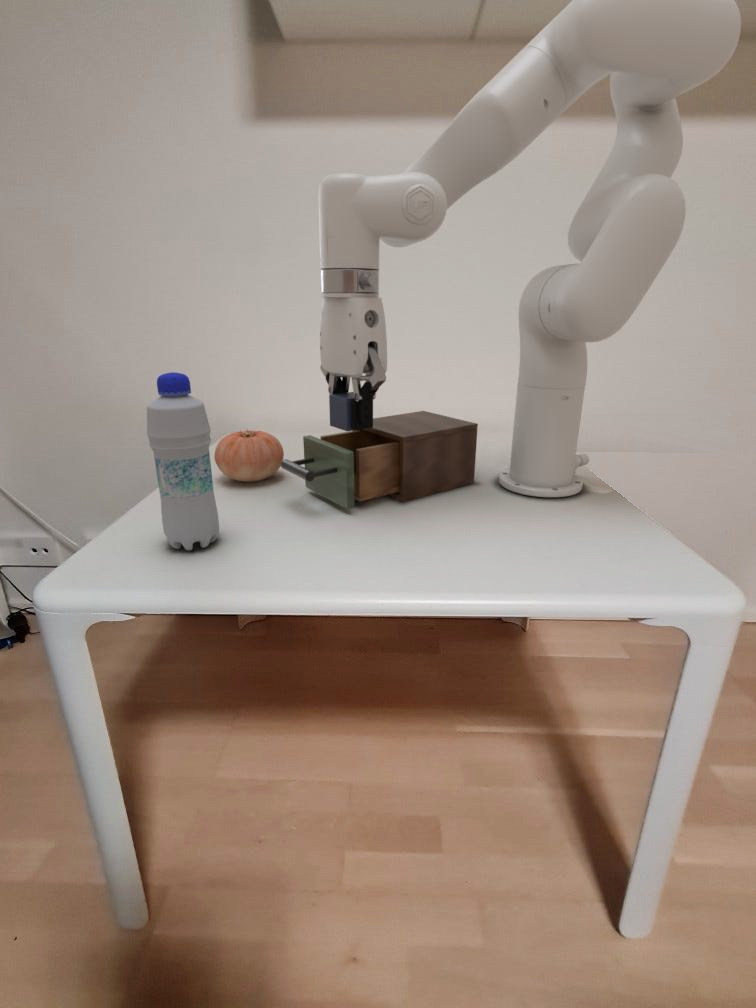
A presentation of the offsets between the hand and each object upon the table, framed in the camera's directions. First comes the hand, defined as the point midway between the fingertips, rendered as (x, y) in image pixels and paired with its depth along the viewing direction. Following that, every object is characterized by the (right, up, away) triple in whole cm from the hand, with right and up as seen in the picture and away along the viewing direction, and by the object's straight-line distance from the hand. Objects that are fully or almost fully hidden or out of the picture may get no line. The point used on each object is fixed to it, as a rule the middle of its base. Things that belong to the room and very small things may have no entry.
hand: (351, 424), depth 76 cm
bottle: (-18, -16, -11) cm, 27 cm away
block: (0, 0, 0) cm, 0 cm away
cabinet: (+9, -8, +10) cm, 16 cm away
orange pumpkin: (-17, -7, +12) cm, 22 cm away
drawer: (0, -9, +3) cm, 10 cm away
